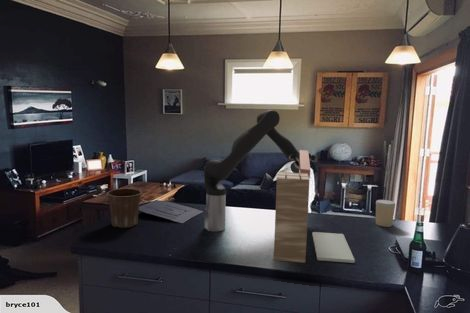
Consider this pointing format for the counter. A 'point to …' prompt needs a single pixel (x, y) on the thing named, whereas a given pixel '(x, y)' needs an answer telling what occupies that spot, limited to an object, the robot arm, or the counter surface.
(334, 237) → the board
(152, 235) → the counter surface
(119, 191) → the plant pot
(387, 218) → the coffee cup
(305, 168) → the bar
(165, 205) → the papers
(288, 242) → the stand
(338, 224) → the counter surface
